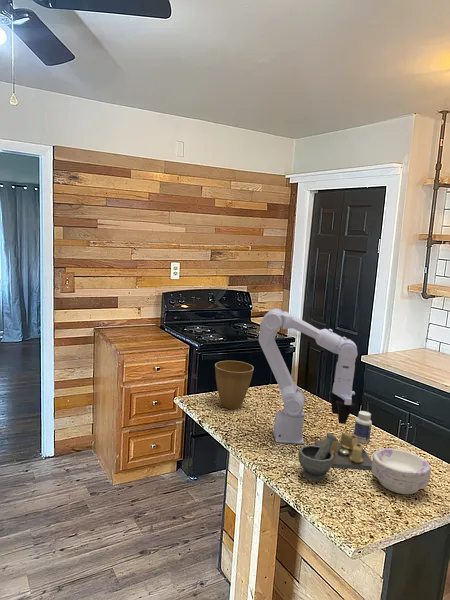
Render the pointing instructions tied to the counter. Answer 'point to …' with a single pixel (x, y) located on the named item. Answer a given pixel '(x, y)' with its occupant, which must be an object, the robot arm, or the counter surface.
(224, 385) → the plant pot
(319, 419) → the counter surface
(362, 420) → the pill bottle
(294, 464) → the counter surface
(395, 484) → the paper bowls
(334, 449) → the knob left
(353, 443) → the knob far
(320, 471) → the mortar and pestle
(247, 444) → the counter surface
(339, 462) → the base plate
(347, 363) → the robot arm
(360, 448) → the knob near
